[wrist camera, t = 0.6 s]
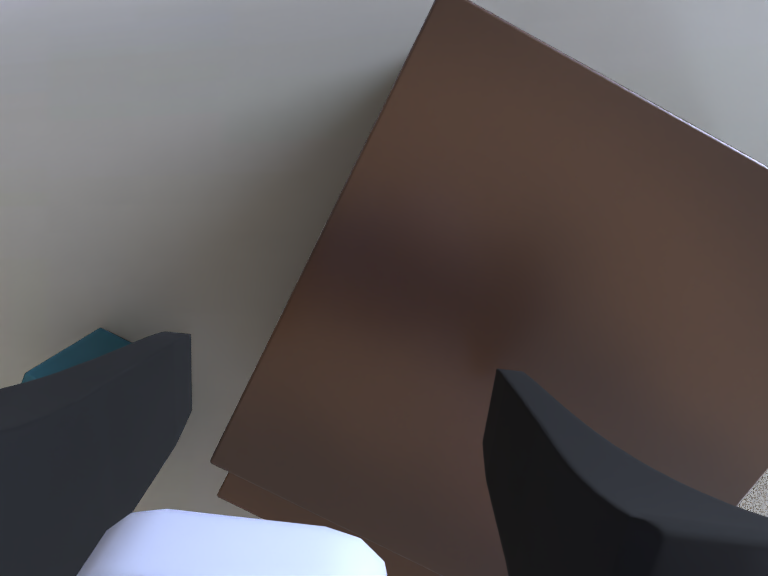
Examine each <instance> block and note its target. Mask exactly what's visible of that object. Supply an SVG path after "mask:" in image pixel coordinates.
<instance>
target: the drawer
mask: <svg viewBox="0 0 768 576" xmlns="http://www.w3.org/2000/svg"><path fill="white" fill-rule="evenodd" d="M217 496H218V497H219V498H221V499H223V500H225V501H227V502H230V503H232V504H234V505H236V506H238V507H240V508H242V509H244V510H246V511H248V512H250V513H252V514H254V515H256V516H258V517H260V518H263V519H265V520H271V521H280V522H289V523H298V524H307V525H316V526H324V527H328V528H331V529H334V530H337V531H340V532H343V533H346V534H349V535H352V536H355V537H358V538H361V539H362V540H363V541H364V542H365V543H366V544H367V545H368V546H369V547H370V548H371V549H372V550H373V551H374V552H375V553H376V554H377V555H378V556H379V557H380V558H381V559H382V560H383V561H384V562H385V567H386V572H387V576H441V575H439V574H437V573H435V572H433V571H431V570H429V569H427V568H425V567H423V566H421V565H419V564H417V563H415V562H412V561H410V560H408V559H406V558H404V557H402V556H400V555H398V554H396V553H394V552H392V551H390V550H388V549H386V548H384V547H382V546H380V545H378V544H376V543H373V542H371V541H369V540H367V539H365V538H363V537H361V536H359V535H357V534H355V533H353V532H351V531H349V530H347V529H345V528H343V527H341V526H339V525H337V524H335V523H332V522H330V521H328V520H326V519H324V518H322V517H320V516H318V515H316V514H314V513H312V512H310V511H308V510H306V509H304V508H302V507H300V506H298V505H296V504H293V503H291V502H289V501H287V500H285V499H283V498H281V497H279V496H277V495H275V494H273V493H271V492H269V491H267V490H265V489H263V488H261V487H259V486H257V485H255V484H252V483H250V482H248V481H246V480H244V479H242V478H240V477H238V476H236V475H234V474H232V473H230V472H228V474H227V476H226V478H225V480H224V482H223V484H222V486H221V488H220V490H219V492H218V494H217Z"/></svg>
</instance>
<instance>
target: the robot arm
mask: <svg viewBox="0 0 768 576" xmlns="http://www.w3.org/2000/svg"><path fill="white" fill-rule="evenodd" d="M191 411H192V383H191V334H184V333H175V332H166V331H165V332H161V333H157V334H154V335H151V336H149V337H146V338H144V339H141V340H139V341H136V342H134V343H131V344H129V345H126V346H124V347H121V348H119V349H117V350H114V351H112V352H109V353H107V354H104V355H102V356H100V357H97V358H95V359H92V360H89V361H86V362H84V363H81V364H78V365H76V366H73V367H70V368H67V369H65V370H62V371H59V372H57V373H54V374H51V375H48V376H44V377H41V378H38V379H35V380H31V381H28V382H24V383H21V384H17V385H13V386H10V387H6V388H2V389H0V576H387V572H386V567H385V562H384V561H383V560H382V559H381V558H380V557H379V556H378V555H377V554H376V553H375V552H374V551H373V550H372V549H371V548H370V547H369V546H368V545H367V544H366V543H365V542H364V541H363V540H362V539H361V538H358V537H355V536H352V535H349V534H346V533H343V532H340V531H337V530H334V529H331V528H328V527H324V526H316V525H307V524H298V523H289V522H280V521H271V520H262V519H253V518H244V517H235V516H227V515H218V514H209V513H200V512H191V511H182V510H173V509H160V510H151V511H141V512H133V510H134V509H135V507H136V506H137V504H138V503H139V501H140V500H141V498H142V497H143V495H144V494H145V492H146V490H147V489H148V487H149V486H150V484H151V483H152V481H153V480H154V478H155V477H156V475H157V474H158V472H159V471H160V469H161V468H162V466H163V464H164V463H165V461H166V460H167V458H168V457H169V455H170V454H171V452H172V450H173V449H174V447H175V446H176V444H177V442H178V440H179V437H180V435H181V433H182V431H183V429H184V427H185V424H186V422H187V420H188V418H189V415H190V413H191ZM482 444H483V456H484V467H485V476H486V482H487V487H488V491H489V495H490V500H491V504H492V508H493V512H494V516H495V520H496V524H497V528H498V532H499V537H500V541H501V545H502V549H503V553H504V557H505V561H506V566H507V571H508V576H768V517H765V516H762V515H759V514H756V513H753V512H750V511H747V510H744V509H742V508H739V507H736V506H734V505H731V504H729V503H726V502H724V501H721V500H719V499H717V498H714V497H712V496H709V495H707V494H705V493H702V492H700V491H698V490H696V489H694V488H691V487H689V486H687V485H685V484H683V483H681V482H679V481H677V480H675V479H673V478H671V477H669V476H667V475H665V474H663V473H661V472H659V471H657V470H655V469H653V468H652V467H650V466H648V465H646V464H645V463H643V462H641V461H639V460H638V459H636V458H634V457H633V456H631V455H630V454H628V453H627V452H625V451H623V450H622V449H620V448H619V447H617V446H615V445H614V444H612V443H611V442H609V441H608V440H607V439H605V438H604V437H602V436H601V435H600V434H598V433H597V432H596V431H594V430H593V429H592V428H590V427H589V426H588V425H586V424H585V423H584V422H582V421H581V420H580V419H579V418H577V417H576V416H575V415H574V414H572V413H571V412H570V411H569V410H568V409H566V408H565V407H564V406H563V405H562V404H561V403H559V402H558V401H557V400H556V399H555V398H554V397H553V396H551V395H550V394H549V393H548V392H547V391H546V390H545V389H544V388H542V387H541V386H540V385H539V384H538V383H537V382H536V381H534V380H533V379H532V378H531V377H530V376H528V375H527V374H526V373H524V372H523V371H514V370H505V369H496V375H495V380H494V385H493V390H492V395H491V400H490V406H489V411H488V416H487V421H486V426H485V431H484V437H483V442H482Z"/></svg>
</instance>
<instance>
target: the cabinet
mask: <svg viewBox="0 0 768 576" xmlns="http://www.w3.org/2000/svg"><path fill="white" fill-rule="evenodd" d="M496 369H505V370H514V371H523V372H524V373H526V374H527V375H528V376H530V377H531V378H532V379H533V380H534V381H536V382H537V383H538V384H539V385H540V386H541V387H542V388H544V389H545V390H546V391H547V392H548V393H549V394H550V395H551V396H553V397H554V398H555V399H556V400H557V401H558V402H559V403H561V404H562V405H563V406H564V407H565V408H566V409H568V410H569V411H570V412H571V413H572V414H574V415H575V416H576V417H577V418H579V419H580V420H581V421H582V422H584V423H585V424H586V425H588V426H589V427H590V428H592V429H593V430H594V431H596V432H597V433H598V434H600V435H601V436H602V437H604V438H605V439H607V440H608V441H609V442H611V443H612V444H614V445H615V446H617V447H619V448H620V449H622V450H623V451H625V452H627V453H628V454H630V455H631V456H633V457H634V458H636V459H638V460H639V461H641V462H643V463H645V464H646V465H648V466H650V467H652V468H653V469H655V470H657V471H659V472H661V473H663V474H665V475H667V476H669V477H671V478H673V479H675V480H677V481H679V482H681V483H683V484H685V485H687V486H689V487H691V488H694V489H696V490H698V491H700V492H702V493H705V494H707V495H709V496H712V497H714V498H717V499H719V500H721V501H724V502H726V503H729V504H731V505H734V506H736V507H737V506H738V505H739V504H740V503H741V501H742V500H743V499H744V498H745V497H746V495H747V494H748V493H749V492H750V491H751V489H752V488H753V487H754V486H755V485H756V484H757V482H758V481H759V480H760V479H761V478H762V476H763V475H764V474H765V473H766V472H767V470H768V167H767V166H766V165H764V164H762V163H760V162H758V161H757V160H755V159H753V158H751V157H750V156H748V155H746V154H744V153H742V152H741V151H739V150H737V149H735V148H733V147H732V146H730V145H728V144H726V143H724V142H723V141H721V140H719V139H717V138H715V137H714V136H712V135H710V134H708V133H706V132H705V131H703V130H701V129H699V128H697V127H696V126H694V125H692V124H690V123H688V122H687V121H685V120H683V119H681V118H679V117H678V116H676V115H674V114H672V113H670V112H669V111H667V110H665V109H663V108H661V107H660V106H658V105H656V104H654V103H652V102H651V101H649V100H647V99H645V98H644V97H642V96H640V95H638V94H636V93H635V92H633V91H631V90H629V89H627V88H626V87H624V86H622V85H620V84H618V83H617V82H615V81H613V80H611V79H609V78H608V77H606V76H604V75H602V74H600V73H599V72H597V71H595V70H593V69H591V68H590V67H588V66H586V65H584V64H582V63H581V62H579V61H577V60H575V59H573V58H572V57H570V56H568V55H566V54H564V53H563V52H561V51H559V50H557V49H555V48H554V47H552V46H550V45H548V44H546V43H545V42H543V41H541V40H539V39H537V38H536V37H534V36H532V35H530V34H529V33H527V32H525V31H523V30H521V29H520V28H518V27H516V26H514V25H512V24H511V23H509V22H507V21H505V20H503V19H502V18H500V17H498V16H496V15H494V14H493V13H491V12H489V11H487V10H485V9H484V8H482V7H480V6H478V5H476V4H475V3H473V2H471V1H469V0H435V1H434V3H433V5H432V7H431V9H430V11H429V14H428V16H427V18H426V20H425V22H424V24H423V26H422V28H421V30H420V32H419V34H418V36H417V38H416V40H415V42H414V44H413V46H412V48H411V50H410V52H409V54H408V56H407V59H406V61H405V63H404V65H403V67H402V69H401V71H400V73H399V75H398V77H397V79H396V81H395V83H394V85H393V87H392V89H391V91H390V93H389V95H388V97H387V99H386V101H385V104H384V106H383V108H382V110H381V112H380V114H379V116H378V118H377V120H376V122H375V124H374V126H373V128H372V130H371V132H370V134H369V136H368V138H367V140H366V142H365V144H364V147H363V149H362V151H361V153H360V155H359V157H358V159H357V161H356V163H355V165H354V167H353V169H352V171H351V173H350V175H349V177H348V179H347V181H346V183H345V185H344V187H343V189H342V192H341V194H340V196H339V198H338V200H337V202H336V204H335V206H334V208H333V210H332V212H331V214H330V216H329V218H328V220H327V222H326V224H325V226H324V228H323V230H322V232H321V235H320V237H319V239H318V241H317V243H316V245H315V247H314V249H313V251H312V253H311V255H310V257H309V259H308V261H307V263H306V265H305V267H304V269H303V271H302V273H301V275H300V277H299V280H298V282H297V284H296V286H295V288H294V290H293V292H292V294H291V296H290V298H289V300H288V302H287V304H286V306H285V308H284V310H283V312H282V314H281V316H280V318H279V320H278V322H277V325H276V327H275V329H274V331H273V333H272V335H271V337H270V339H269V341H268V343H267V345H266V347H265V349H264V351H263V353H262V355H261V357H260V359H259V361H258V363H257V365H256V368H255V370H254V372H253V374H252V376H251V378H250V380H249V382H248V384H247V386H246V388H245V390H244V392H243V394H242V396H241V398H240V400H239V402H238V404H237V406H236V408H235V410H234V413H233V415H232V417H231V419H230V421H229V423H228V425H227V427H226V429H225V431H224V433H223V435H222V437H221V439H220V441H219V443H218V445H217V447H216V449H215V451H214V453H213V456H212V458H211V460H210V462H211V463H212V464H213V465H216V466H218V467H220V468H222V469H224V470H226V471H228V472H230V473H232V474H234V475H236V476H238V477H240V478H242V479H244V480H246V481H248V482H250V483H252V484H255V485H257V486H259V487H261V488H263V489H265V490H267V491H269V492H271V493H273V494H275V495H277V496H279V497H281V498H283V499H285V500H287V501H289V502H291V503H293V504H296V505H298V506H300V507H302V508H304V509H306V510H308V511H310V512H312V513H314V514H316V515H318V516H320V517H322V518H324V519H326V520H328V521H330V522H332V523H335V524H337V525H339V526H341V527H343V528H345V529H347V530H349V531H351V532H353V533H355V534H357V535H359V536H361V537H363V538H365V539H367V540H369V541H371V542H373V543H376V544H378V545H380V546H382V547H384V548H386V549H388V550H390V551H392V552H394V553H396V554H398V555H400V556H402V557H404V558H406V559H408V560H410V561H412V562H415V563H417V564H419V565H421V566H423V567H425V568H427V569H429V570H431V571H433V572H435V573H437V574H439V575H441V576H508V571H507V566H506V561H505V557H504V553H503V549H502V545H501V541H500V537H499V532H498V528H497V524H496V520H495V516H494V512H493V508H492V504H491V500H490V495H489V491H488V487H487V482H486V476H485V467H484V456H483V444H482V442H483V437H484V431H485V426H486V421H487V416H488V411H489V406H490V400H491V395H492V390H493V385H494V380H495V375H496Z"/></svg>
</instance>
